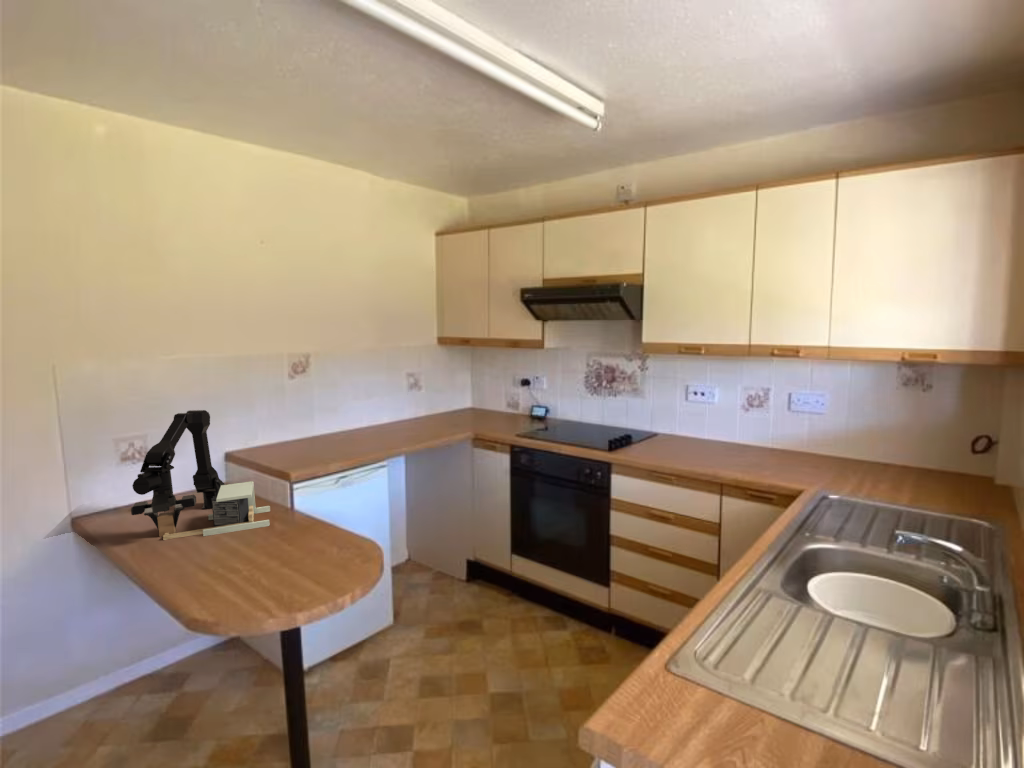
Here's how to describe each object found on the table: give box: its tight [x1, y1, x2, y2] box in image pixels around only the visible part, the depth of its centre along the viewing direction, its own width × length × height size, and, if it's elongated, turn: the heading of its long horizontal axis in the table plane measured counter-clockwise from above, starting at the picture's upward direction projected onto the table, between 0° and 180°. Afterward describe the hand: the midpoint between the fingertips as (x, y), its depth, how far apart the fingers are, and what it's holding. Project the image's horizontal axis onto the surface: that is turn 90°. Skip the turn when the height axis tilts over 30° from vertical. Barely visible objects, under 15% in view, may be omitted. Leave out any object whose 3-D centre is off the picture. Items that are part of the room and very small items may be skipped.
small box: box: [211, 496, 249, 527], centre depth 200 cm, size 11×6×10 cm, turn 86°
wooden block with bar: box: [157, 505, 255, 541], centre depth 197 cm, size 12×30×7 cm, turn 114°
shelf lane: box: [202, 480, 271, 537], centre depth 200 cm, size 17×21×12 cm
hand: (167, 528), depth 192 cm, fingers open, 5 cm apart
